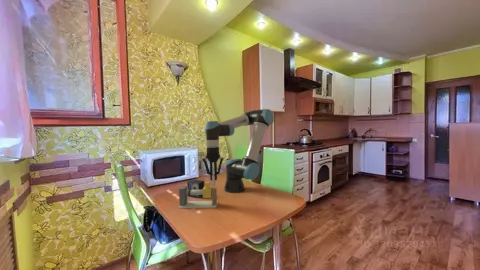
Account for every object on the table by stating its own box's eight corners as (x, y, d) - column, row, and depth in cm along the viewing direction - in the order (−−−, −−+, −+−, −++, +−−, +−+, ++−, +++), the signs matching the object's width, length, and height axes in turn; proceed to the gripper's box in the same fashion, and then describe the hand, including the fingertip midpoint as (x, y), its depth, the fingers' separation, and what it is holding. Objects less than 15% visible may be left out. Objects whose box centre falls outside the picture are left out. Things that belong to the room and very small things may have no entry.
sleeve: (212, 194, 126) (212, 181, 126) (211, 197, 121) (210, 183, 120) (204, 195, 126) (204, 181, 126) (202, 198, 121) (202, 183, 120)
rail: (218, 202, 128) (217, 184, 128) (216, 207, 119) (215, 189, 119) (183, 202, 129) (182, 185, 128) (178, 208, 120) (178, 189, 119)
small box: (187, 196, 141) (186, 181, 140) (193, 193, 146) (192, 179, 146) (199, 198, 136) (198, 183, 135) (205, 195, 141) (204, 180, 141)
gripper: (224, 145, 126) (225, 183, 127) (203, 146, 126) (204, 184, 127) (223, 147, 118) (224, 187, 119) (200, 147, 119) (201, 187, 119)
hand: (213, 185), depth 123 cm, fingers closed
